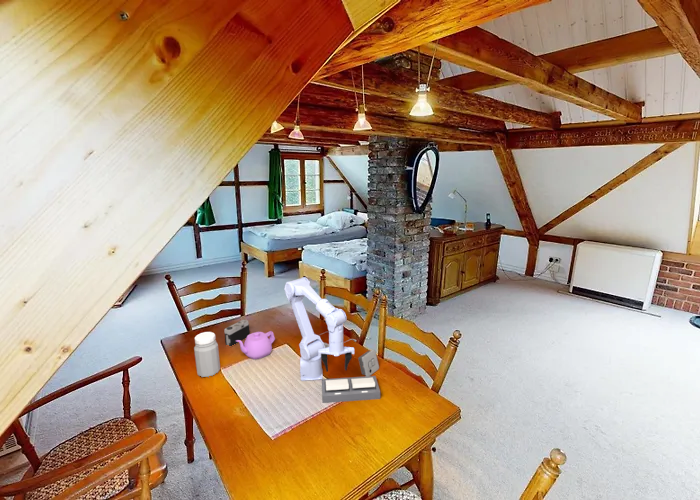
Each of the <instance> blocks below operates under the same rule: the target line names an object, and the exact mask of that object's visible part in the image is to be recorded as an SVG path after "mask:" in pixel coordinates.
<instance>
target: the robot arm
mask: <svg viewBox="0 0 700 500" xmlns="http://www.w3.org/2000/svg"><path fill="white" fill-rule="evenodd" d="M283 290H284V293H285V295H286V298H287V301H288V302H289V303H290V306H291V308H292V312H293V315H294V318H295V320H296V323H297V326H298V328H299V331H300V335H301V341H300V343H299V344H298V346H299V349H300V350H299V351H300V352H299V353H300V357H299V363H300V364H299V367H300V369H299V373H300V381H303V382H304V381H319V380H322V379H324V378H323V368H322V363H323V365H324V366H325V372H329V366H328V355H330V356H331V355H332V356H334V357H339V356H340V355H344V371H347V370H348V366H349V363H350V361H351V360H352V358H353V355H355V347H350V346H344V324H345V323H346V322H347V315H346V312H345V311H344V310H343V309H341V308H337V307H335V306H334V305H333V304H332V303H331V302H330V301H329V300H328V299H326V298H322V297H321V296H320V295H319V294H318V293H317V291H315V289H314V288H313V287H312V284H311V281H310V280H309V279H308V278H307V277H306V276H303V277H300V278H297V279H294V280H293V279H292V280H291V281H286V282H285V285H284V287H283ZM304 297H305V298H307V299H308V301H310V302H312V303H313V304H314V305H315V310H316V311H317V312H318V313H319V314H320V315H321V316H322V317H323V318H325V323H326V325H327V330H328V344H329V347H328V348H325V345H324V343H325V342H324V341H323V340H322V339H321V335H319V334H316V333H315V332H314V329H313V327H312V324H311V321H310V318H309V315H308V313H307V310H306V308H305V304H304V303H303V300H304ZM323 342H324V343H323Z"/></svg>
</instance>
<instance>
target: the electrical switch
mask: <svg viewBox="0 0 700 500" xmlns="http://www.w3.org/2000/svg"><path fill="white" fill-rule="evenodd" d="M357 359H358V363H359V368H360V372H361V375H364V376H365V377H366V376H373V374H374V373H375V372H377V371H378V370H379V369H380V365H379V360H378V356H377V351H376V350H375V349H372V350H368V351H366V352H365V353H363V354H362V355H360V356H359V357H358V358H357Z"/></svg>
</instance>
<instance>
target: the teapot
mask: <svg viewBox="0 0 700 500" xmlns="http://www.w3.org/2000/svg"><path fill="white" fill-rule="evenodd" d="M275 340H276V338H275V334H274V332H273V331H272V330H270V331H268V332H263V331H256V332H252V333H250V334H249V335H248V336H247V337H246V339H244V343H243V340H242V341H241V340H236V341H237V342H239V346H240V347H239V348H240V351H241V352H242V353H244V354H245V356H247V357H248V358H249V359H251V360H259V359H262V358H265V357H267V356H269V355H270V354H271V352H272V351H273V347H272V344H273V343H274V342H275Z"/></svg>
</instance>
